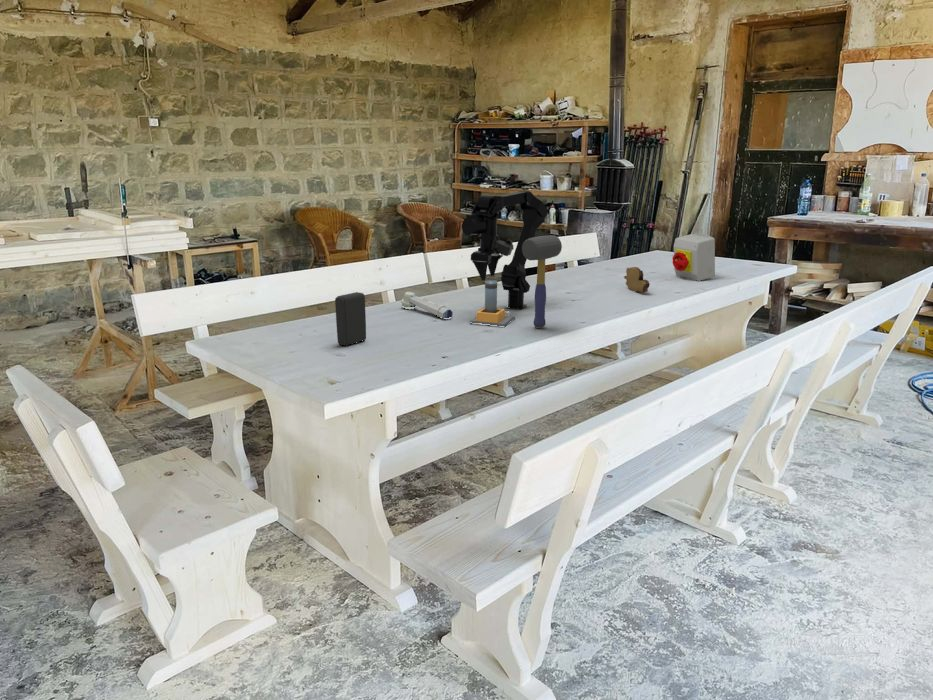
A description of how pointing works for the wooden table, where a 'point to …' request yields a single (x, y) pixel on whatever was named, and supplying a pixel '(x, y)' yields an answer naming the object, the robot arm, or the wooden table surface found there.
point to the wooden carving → (636, 280)
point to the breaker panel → (493, 317)
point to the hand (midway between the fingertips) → (488, 277)
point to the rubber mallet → (541, 269)
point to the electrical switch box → (694, 256)
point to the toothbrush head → (425, 305)
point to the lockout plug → (491, 296)
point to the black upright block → (350, 318)
